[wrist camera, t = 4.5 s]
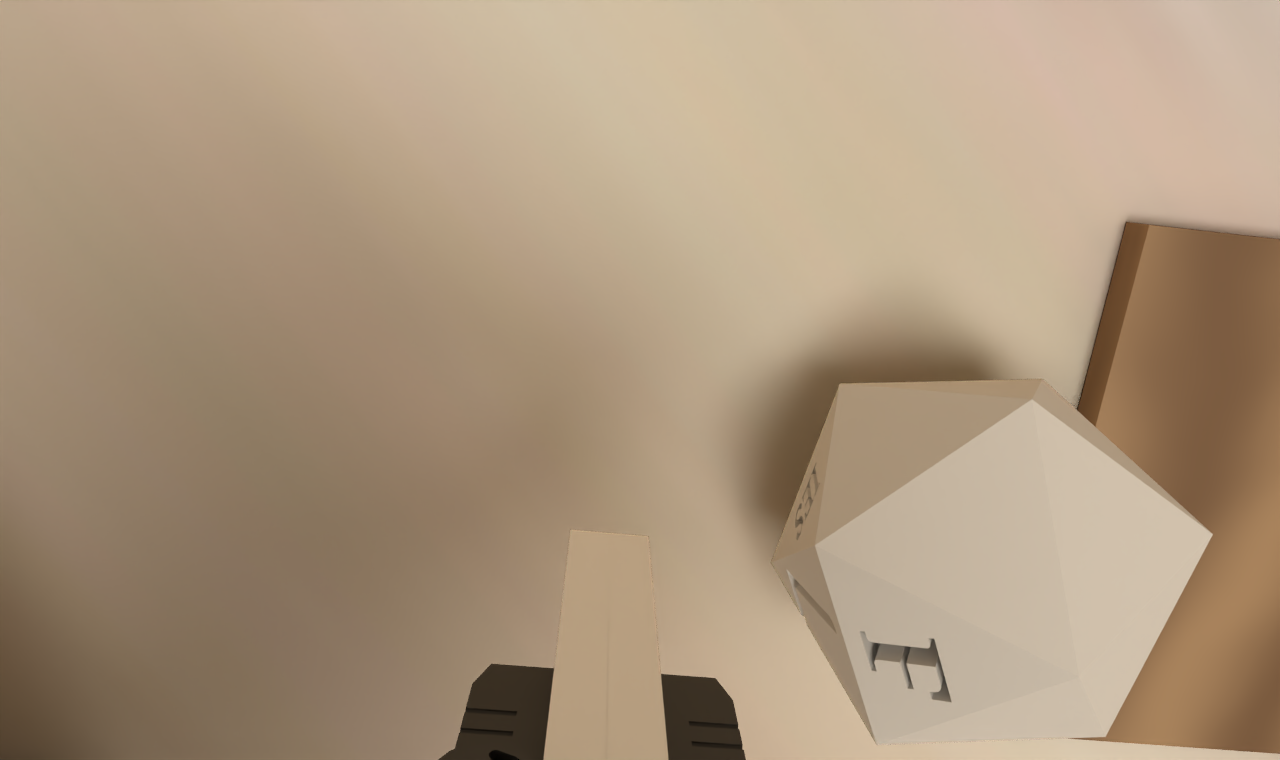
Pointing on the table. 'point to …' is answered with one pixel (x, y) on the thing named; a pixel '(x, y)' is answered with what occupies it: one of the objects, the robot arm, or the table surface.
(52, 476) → the table surface
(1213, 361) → the board
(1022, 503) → the die
